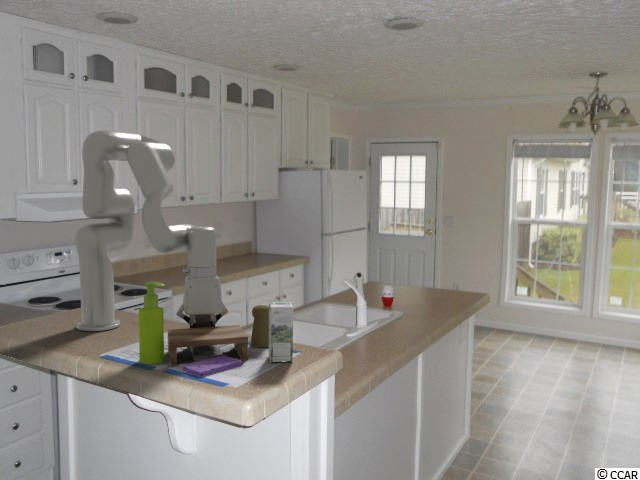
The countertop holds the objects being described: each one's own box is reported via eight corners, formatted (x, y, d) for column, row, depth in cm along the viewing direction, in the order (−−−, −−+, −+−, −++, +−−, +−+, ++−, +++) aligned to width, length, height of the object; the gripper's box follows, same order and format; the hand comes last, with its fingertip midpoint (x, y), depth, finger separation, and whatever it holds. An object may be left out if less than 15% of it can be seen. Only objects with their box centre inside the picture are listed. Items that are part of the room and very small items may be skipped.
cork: (268, 348, 154) (268, 308, 152) (247, 347, 155) (247, 307, 154) (274, 342, 159) (275, 304, 158) (254, 341, 161) (254, 302, 159)
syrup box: (290, 355, 148) (290, 300, 146) (293, 362, 142) (293, 306, 140) (268, 356, 147) (268, 301, 145) (270, 363, 141) (270, 306, 140)
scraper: (188, 343, 157) (188, 311, 156) (214, 341, 159) (214, 310, 158) (194, 361, 142) (194, 326, 141) (222, 359, 144) (222, 324, 143)
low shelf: (167, 352, 149) (167, 329, 149) (239, 346, 155) (239, 325, 155) (170, 366, 138) (170, 342, 137) (247, 359, 144) (247, 336, 143)
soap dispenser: (154, 366, 138) (153, 285, 136) (134, 361, 141) (132, 282, 139) (172, 359, 143) (171, 281, 141) (152, 355, 146) (150, 278, 144)
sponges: (182, 372, 135) (182, 365, 135) (223, 360, 145) (223, 353, 145) (200, 379, 131) (200, 372, 131) (242, 366, 140) (241, 359, 140)
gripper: (171, 275, 147) (171, 344, 149) (235, 273, 153) (235, 339, 155) (169, 271, 155) (170, 336, 157) (230, 269, 160) (230, 332, 162)
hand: (202, 337), depth 156 cm, fingers closed on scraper, 4 cm apart
